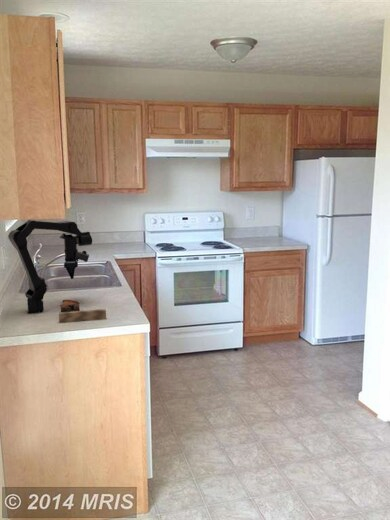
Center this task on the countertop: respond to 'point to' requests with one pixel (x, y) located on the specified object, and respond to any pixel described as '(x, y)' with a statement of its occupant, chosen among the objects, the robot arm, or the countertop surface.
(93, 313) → the walnut board
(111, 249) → the countertop surface
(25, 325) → the countertop surface
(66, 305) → the pottery mug
